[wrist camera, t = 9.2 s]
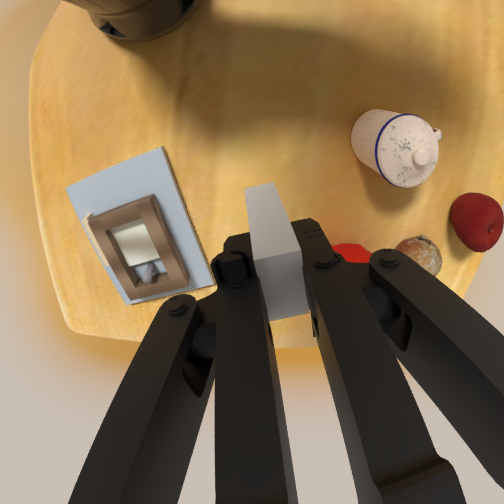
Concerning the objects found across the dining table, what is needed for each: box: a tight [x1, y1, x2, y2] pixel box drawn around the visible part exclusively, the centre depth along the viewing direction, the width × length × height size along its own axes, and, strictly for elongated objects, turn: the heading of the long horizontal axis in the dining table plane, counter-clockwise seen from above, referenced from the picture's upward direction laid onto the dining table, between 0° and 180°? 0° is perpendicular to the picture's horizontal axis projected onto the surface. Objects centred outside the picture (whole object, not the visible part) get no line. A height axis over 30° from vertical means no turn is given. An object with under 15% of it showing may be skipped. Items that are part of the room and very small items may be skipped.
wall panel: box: [65, 146, 214, 305], centre depth 40 cm, size 22×16×5 cm
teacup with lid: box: [351, 109, 442, 188], centre depth 32 cm, size 12×9×12 cm
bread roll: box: [395, 235, 442, 277], centre depth 46 cm, size 10×10×8 cm
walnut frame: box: [88, 193, 190, 301], centre depth 41 cm, size 14×10×2 cm
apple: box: [451, 193, 504, 252], centre depth 39 cm, size 10×10×10 cm
